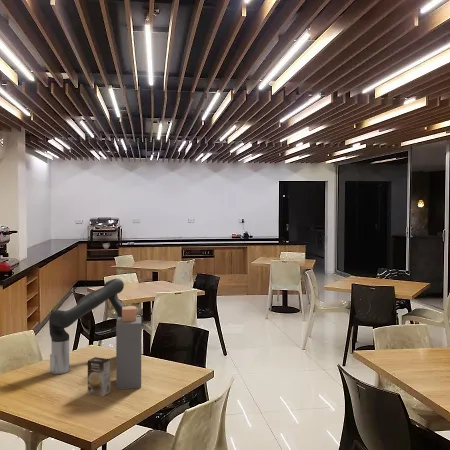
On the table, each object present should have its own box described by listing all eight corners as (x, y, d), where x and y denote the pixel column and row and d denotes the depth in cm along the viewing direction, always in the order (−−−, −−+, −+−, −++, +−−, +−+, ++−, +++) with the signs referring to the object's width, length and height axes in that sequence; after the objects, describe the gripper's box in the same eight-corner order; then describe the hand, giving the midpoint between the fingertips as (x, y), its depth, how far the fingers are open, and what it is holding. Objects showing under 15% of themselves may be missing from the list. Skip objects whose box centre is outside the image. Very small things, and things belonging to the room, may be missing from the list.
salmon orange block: (123, 313, 258) (123, 302, 258) (136, 313, 259) (136, 302, 259) (121, 321, 239) (121, 309, 239) (136, 321, 241) (136, 309, 241)
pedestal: (118, 378, 250) (117, 317, 249) (141, 377, 252) (141, 316, 251) (116, 389, 234) (116, 324, 234) (141, 387, 236) (141, 323, 236)
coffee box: (86, 394, 228) (86, 360, 228) (94, 389, 234) (94, 356, 234) (103, 396, 225) (103, 362, 225) (110, 391, 231) (110, 358, 231)
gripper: (118, 321, 280) (117, 312, 266) (143, 320, 283) (143, 311, 269) (118, 333, 277) (117, 325, 263) (143, 332, 279) (143, 324, 265)
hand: (130, 318), depth 266 cm, fingers open, 8 cm apart
